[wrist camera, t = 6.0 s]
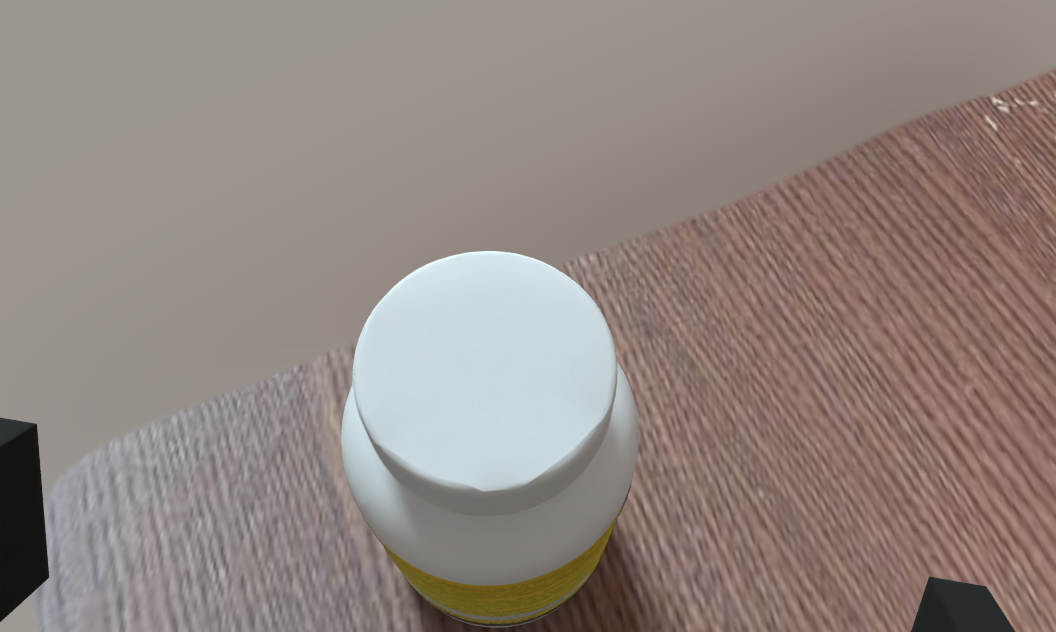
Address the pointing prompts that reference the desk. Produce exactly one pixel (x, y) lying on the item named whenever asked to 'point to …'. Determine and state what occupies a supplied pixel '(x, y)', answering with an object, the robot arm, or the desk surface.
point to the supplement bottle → (490, 435)
